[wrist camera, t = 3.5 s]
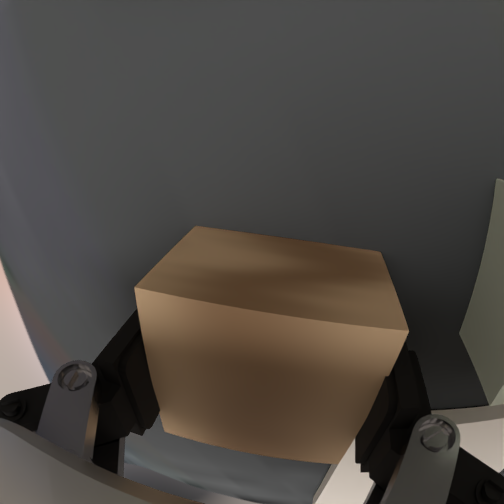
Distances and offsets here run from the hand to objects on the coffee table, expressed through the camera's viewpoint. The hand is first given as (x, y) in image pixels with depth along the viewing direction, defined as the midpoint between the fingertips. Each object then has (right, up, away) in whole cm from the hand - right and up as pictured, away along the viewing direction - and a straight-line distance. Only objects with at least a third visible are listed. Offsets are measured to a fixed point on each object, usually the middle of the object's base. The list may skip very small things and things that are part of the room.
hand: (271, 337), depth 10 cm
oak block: (0, +1, +1) cm, 1 cm away
